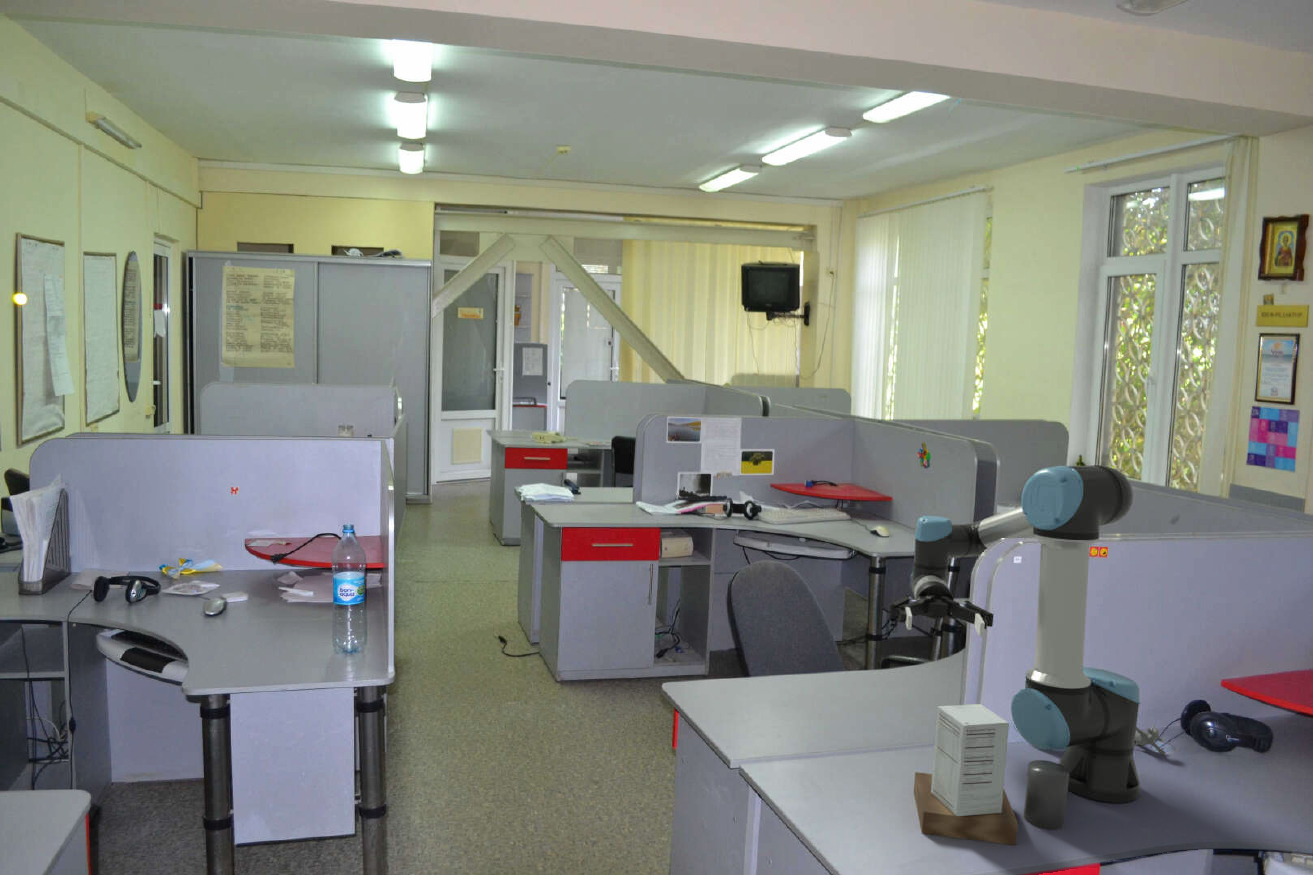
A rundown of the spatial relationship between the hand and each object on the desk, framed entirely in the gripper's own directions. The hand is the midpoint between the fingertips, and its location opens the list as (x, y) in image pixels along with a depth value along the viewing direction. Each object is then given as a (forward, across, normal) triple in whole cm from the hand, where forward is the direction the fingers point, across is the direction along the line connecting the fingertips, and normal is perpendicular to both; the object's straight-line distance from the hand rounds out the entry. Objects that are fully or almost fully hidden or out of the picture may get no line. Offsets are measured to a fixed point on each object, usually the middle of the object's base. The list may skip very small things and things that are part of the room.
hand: (945, 626), depth 190 cm
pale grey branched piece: (-30, -48, -32) cm, 65 cm away
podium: (+13, -4, -32) cm, 35 cm away
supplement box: (+15, -4, -28) cm, 32 cm away
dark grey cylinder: (+10, -19, -32) cm, 38 cm away
